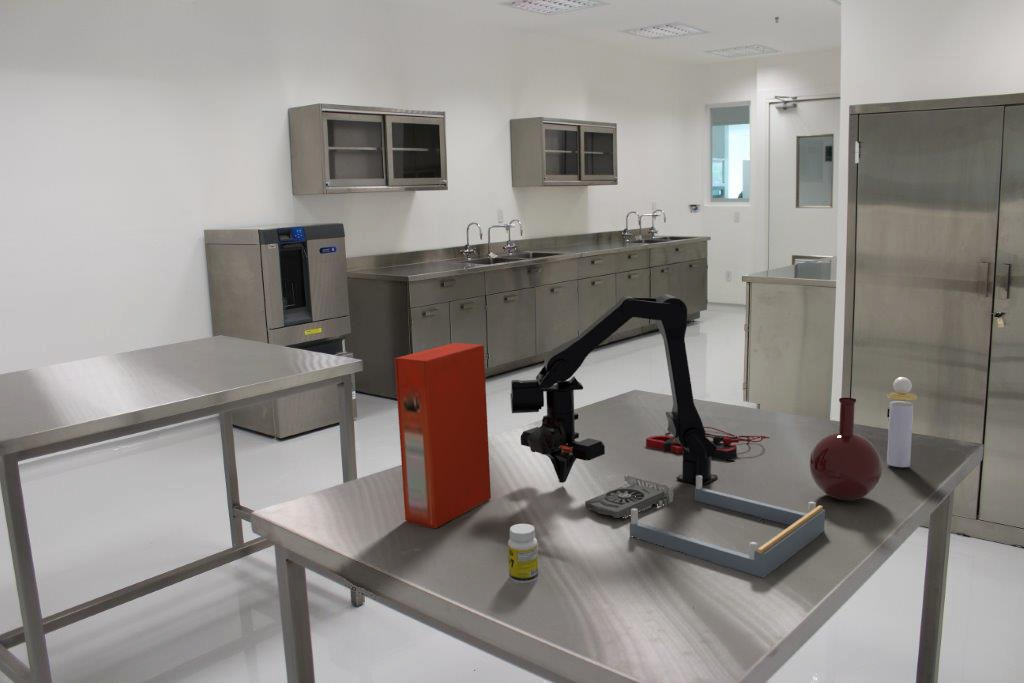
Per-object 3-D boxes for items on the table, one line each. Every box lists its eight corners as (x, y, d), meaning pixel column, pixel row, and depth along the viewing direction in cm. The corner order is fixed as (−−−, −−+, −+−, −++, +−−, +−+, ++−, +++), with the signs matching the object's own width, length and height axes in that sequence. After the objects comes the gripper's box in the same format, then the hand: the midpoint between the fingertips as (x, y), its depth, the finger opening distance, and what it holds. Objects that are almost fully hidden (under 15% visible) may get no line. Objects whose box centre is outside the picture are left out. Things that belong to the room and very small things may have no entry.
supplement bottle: (508, 571, 134) (506, 523, 132) (536, 569, 134) (535, 521, 133) (510, 585, 129) (508, 535, 128) (540, 583, 129) (538, 533, 128)
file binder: (404, 520, 157) (394, 357, 151) (459, 492, 170) (452, 342, 165) (436, 529, 152) (427, 361, 146) (491, 499, 166) (484, 345, 160)
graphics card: (627, 473, 170) (674, 485, 161) (628, 490, 171) (675, 503, 162) (571, 495, 159) (618, 509, 150) (572, 513, 160) (619, 529, 151)
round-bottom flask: (847, 516, 152) (852, 411, 148) (793, 494, 163) (796, 397, 160) (895, 502, 158) (900, 401, 154) (840, 482, 169) (843, 388, 166)
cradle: (697, 498, 163) (698, 474, 162) (824, 531, 145) (825, 504, 144) (629, 536, 146) (629, 509, 145) (763, 578, 129) (764, 548, 128)
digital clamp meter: (741, 448, 181) (639, 432, 196) (740, 467, 182) (640, 450, 196) (775, 422, 200) (681, 409, 214) (775, 440, 200) (680, 426, 215)
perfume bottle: (917, 471, 174) (922, 380, 170) (889, 471, 174) (893, 380, 171) (907, 462, 179) (911, 374, 176) (879, 462, 180) (884, 374, 177)
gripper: (501, 412, 170) (504, 483, 173) (570, 426, 157) (572, 503, 160) (536, 401, 178) (539, 469, 181) (605, 414, 165) (607, 487, 168)
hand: (562, 482), depth 172 cm, fingers closed
